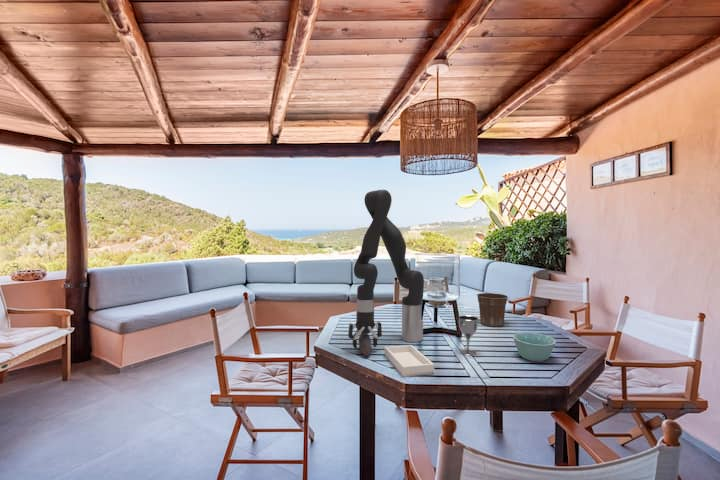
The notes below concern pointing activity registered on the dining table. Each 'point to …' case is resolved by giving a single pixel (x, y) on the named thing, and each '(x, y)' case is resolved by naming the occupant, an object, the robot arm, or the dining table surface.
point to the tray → (409, 361)
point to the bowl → (534, 346)
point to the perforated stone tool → (365, 344)
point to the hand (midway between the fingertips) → (364, 347)
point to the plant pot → (492, 309)
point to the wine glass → (468, 331)
